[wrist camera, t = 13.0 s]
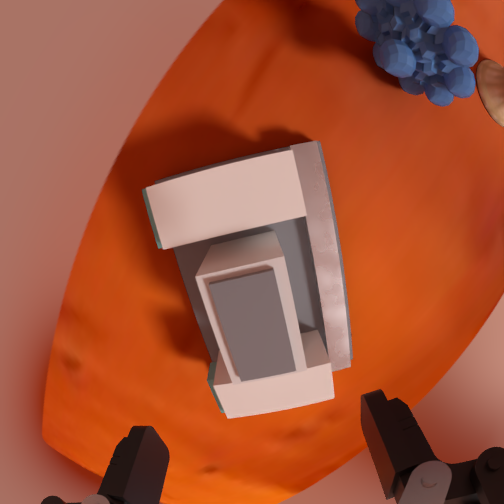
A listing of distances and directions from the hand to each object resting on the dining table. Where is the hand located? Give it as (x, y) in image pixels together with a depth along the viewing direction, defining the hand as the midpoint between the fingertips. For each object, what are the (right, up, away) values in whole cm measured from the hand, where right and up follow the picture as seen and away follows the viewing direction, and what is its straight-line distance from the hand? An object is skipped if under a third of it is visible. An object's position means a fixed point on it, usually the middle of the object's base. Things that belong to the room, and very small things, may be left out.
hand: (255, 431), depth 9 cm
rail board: (+1, +5, +16) cm, 16 cm away
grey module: (0, +4, +14) cm, 15 cm away
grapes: (+11, +23, +11) cm, 28 cm away
